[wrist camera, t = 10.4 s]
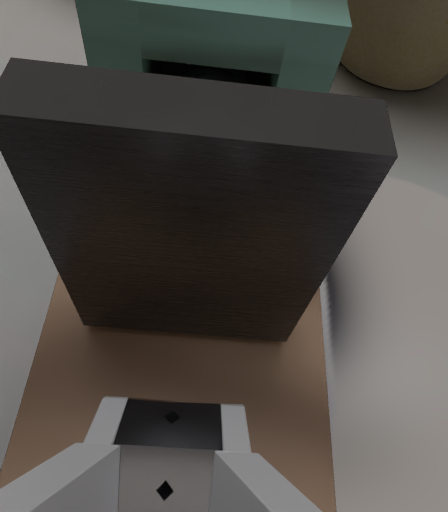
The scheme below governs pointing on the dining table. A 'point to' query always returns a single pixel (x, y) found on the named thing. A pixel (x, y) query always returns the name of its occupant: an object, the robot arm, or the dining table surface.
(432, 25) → the plant pot
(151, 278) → the upright dark gray slab
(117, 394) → the tube housing
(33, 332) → the dining table surface
